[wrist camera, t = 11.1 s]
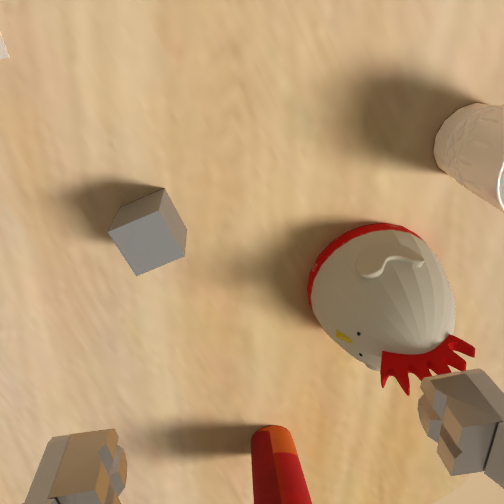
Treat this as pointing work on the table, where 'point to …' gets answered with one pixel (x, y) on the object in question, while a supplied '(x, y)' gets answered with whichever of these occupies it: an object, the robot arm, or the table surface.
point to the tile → (3, 49)
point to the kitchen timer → (387, 303)
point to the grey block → (149, 232)
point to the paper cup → (277, 468)
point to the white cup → (474, 150)
